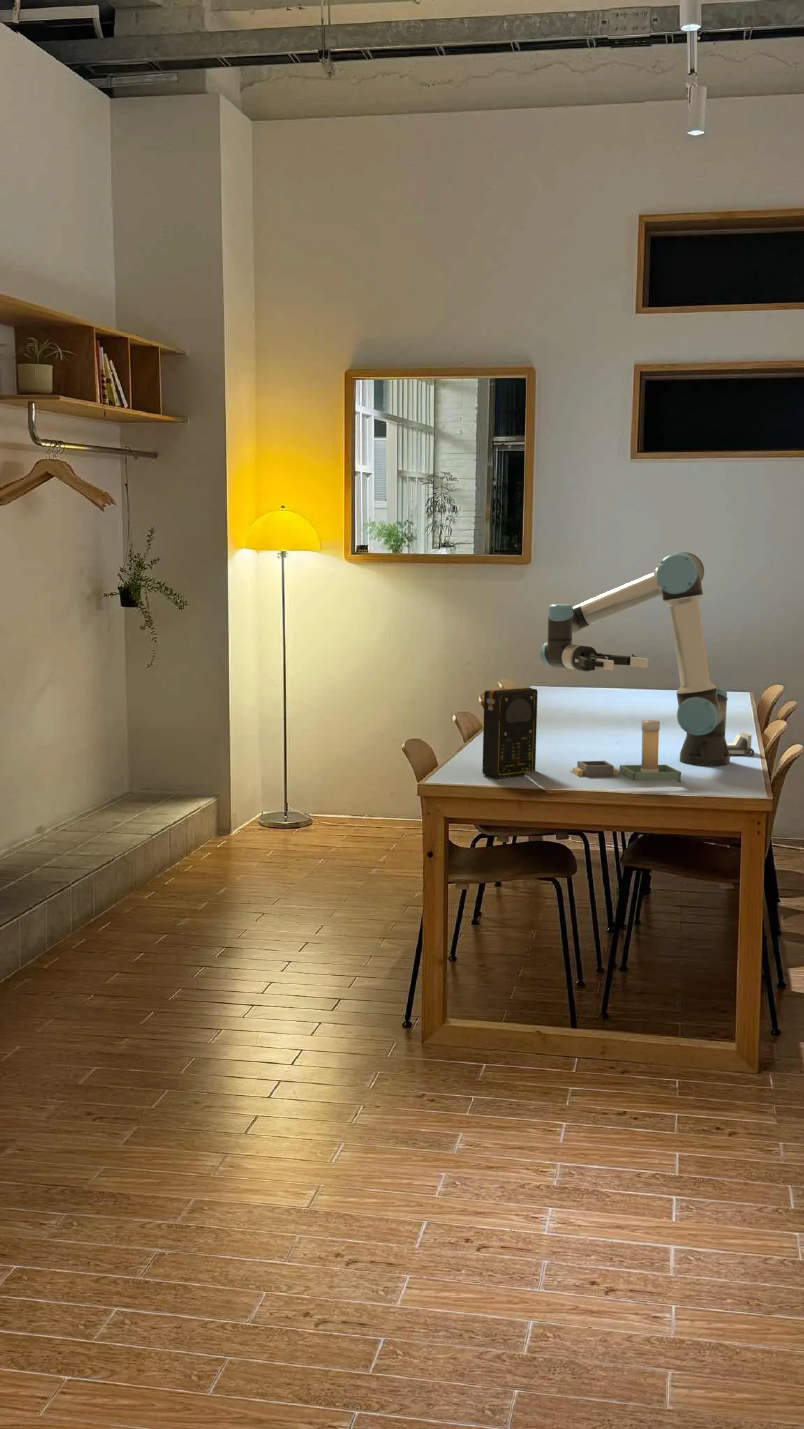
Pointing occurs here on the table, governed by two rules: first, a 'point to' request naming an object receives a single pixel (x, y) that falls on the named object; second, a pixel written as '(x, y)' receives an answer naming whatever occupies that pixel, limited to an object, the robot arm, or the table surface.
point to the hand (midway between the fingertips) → (630, 664)
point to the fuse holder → (595, 769)
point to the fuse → (650, 745)
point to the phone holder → (741, 745)
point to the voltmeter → (509, 732)
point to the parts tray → (650, 773)
